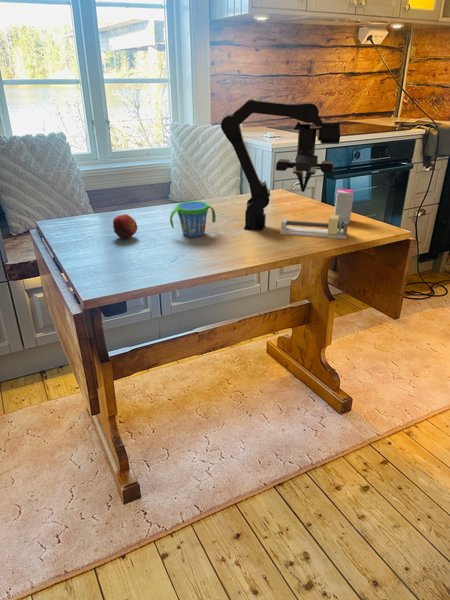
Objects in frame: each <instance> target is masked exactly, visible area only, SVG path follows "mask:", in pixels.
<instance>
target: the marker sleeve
mask: <svg viewBox="0 0 450 600" xmlns="http://www.w3.org/2000/svg"><path fill="white" fill-rule="evenodd" d="M338 218H339V216H337V215H334V214H330V215H329V217H328V223H329V224H328V228H327V230H328V234H336V235H337V230H338V229H337V227H338Z"/></svg>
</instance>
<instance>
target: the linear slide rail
mask: <svg viewBox="0 0 450 600" xmlns="http://www.w3.org/2000/svg"><path fill="white" fill-rule="evenodd" d="M328 224H329V222H328V223H327V222H313V221H300V220H299V221H298V220H288V218H282V220H281V224H280V235H291V236H299V237H300V236H301V237H302V236H303V237H312V238H313V237H315V238H325V239H326V238H327V239H328V238H329V239H341V240H344V239H345V240H346V239H347V233H348V226H349V224H348V221H344V224H342V222H339V224H338V227H337V235H336V234H328ZM295 226H296V227H295ZM307 227H309V228H307ZM324 228H325V229H324Z"/></svg>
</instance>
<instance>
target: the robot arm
mask: <svg viewBox="0 0 450 600" xmlns="http://www.w3.org/2000/svg"><path fill="white" fill-rule="evenodd" d="M319 112H320V110H319V108H318V106H317V105H316V104H315V103H313V102H311V101H306V102H305V101H304V102H303V101H302V102H294V103H283V102H275V101H265V100H256V99H253V98H251V99H247V100H246V101H245V103H243V104H242V105H241V106H240V107H239V108H238V109H236V110H235V111H234V112H233V113H228V114H226V115H225V116H224V117H223V118H222V120H221V123H220V128H221V131H222V133H223V134H224V135H225V136H224V137H226V139H227V140H228V142H229V143H230V144H231V145H232V147H233V150H234V152H235V154H236V156H237V159H238V161H239V163H240V166H241V170H243V173H244V176H245V178H246V181H247V182H248V186H249V190H250V191H249V192H250V195H251V197H250V198H249V199H248V200H247V201H246V210H245V214H244V215H245V216H244V217H245V218H244V220H245V221H244V224H245V225H244V227H243V229H244V230H251V231H263V229H264V228H265V227H266V221H267V220H266V219H267V216H266V213H265V208H267V206H269V204H270V197H271V190H270V189H269V187H268V185H267V181H266V180H265V181H263V182H262V181H261V179H260V178H259V175H258V172H257V170H256V168H255V166H254V164H253V160H252V158H251V156H250V154H249V151H248V148H247V146H246V143H245V141H244V139H243V132H242V128H241V124H242V123H244V121H246V119H248V118H249V117H250V116H251V115H252V114H257V115H258V114H259V115H267V116H268V115H269V116H277V117H279V116H280V117H286V118H287V117H288V118H291V119H294V120H297V122H296V123H295V125H293V126H292V130H295V131H298V133H297V134H298V135H297V147H296V148H297V149H296V150H297V151H296V157H295V162H291V161H290V159H288V158H287V159H283V158H282V159H281V158H280V159H278V161H277V162H276V163H275V171H281V172H286V171H287V170H288V169H292V170H293V171H292V174H294V175H296V177H297V178H298V181H299V185H300V186H299V187H300V190H301V193H302V192H303V193H304V192H305V191H306V188H307V185H308V183H309V181H310V179H311V177H312V175H313V176H315V175H316V172H317V170H320V171H321V172H322V174H325V173H327V174H332V173H333V172H334V166H335V164H334V163H335V162H334V161H332V160H331V161H329V160H322V161H321V163H319V162H318V161H319V160H318V159H319V158H318V157H319V156H318V155H315V153H316V141H317V142H320V145H339V144H340V142H341V141H340V140H341V127H340V126H341V125H340V121H332V122H329V121H328V122H327V121H326V122H325V121H323V120H322V118H320V116H319V114H320V113H319ZM300 122H302V123H300ZM311 123H312V124H313V125H315V126H311V125H310V124H311ZM304 172H305V176H304ZM333 174H334V173H333Z"/></svg>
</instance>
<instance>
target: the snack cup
mask: <svg viewBox="0 0 450 600" xmlns="http://www.w3.org/2000/svg"><path fill="white" fill-rule="evenodd" d="M209 209H211V215H212V218H211V222H212V223H213V224H215V222H216V219H217V218H216V211H215V209H214V208H213V207H212V206H211V205H209V204H208V203H206V202H203V201H199V200H198V201H195V200H193V201H190V200H189V201H185V202H181V203H178V204H177V205H176V207H175V208H174V209H173V210H171V214H170V217H169V223H170V227H172V228H173V229H174V221H173V217H174V215H176V213H177V214H178V217H179V222H180V226H181V232H182V235H183V236H185V237H188V238H197V237H201V236H203V235H204V234H205V232H206V223H207V216H208V215H207V214H208V210H209Z"/></svg>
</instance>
